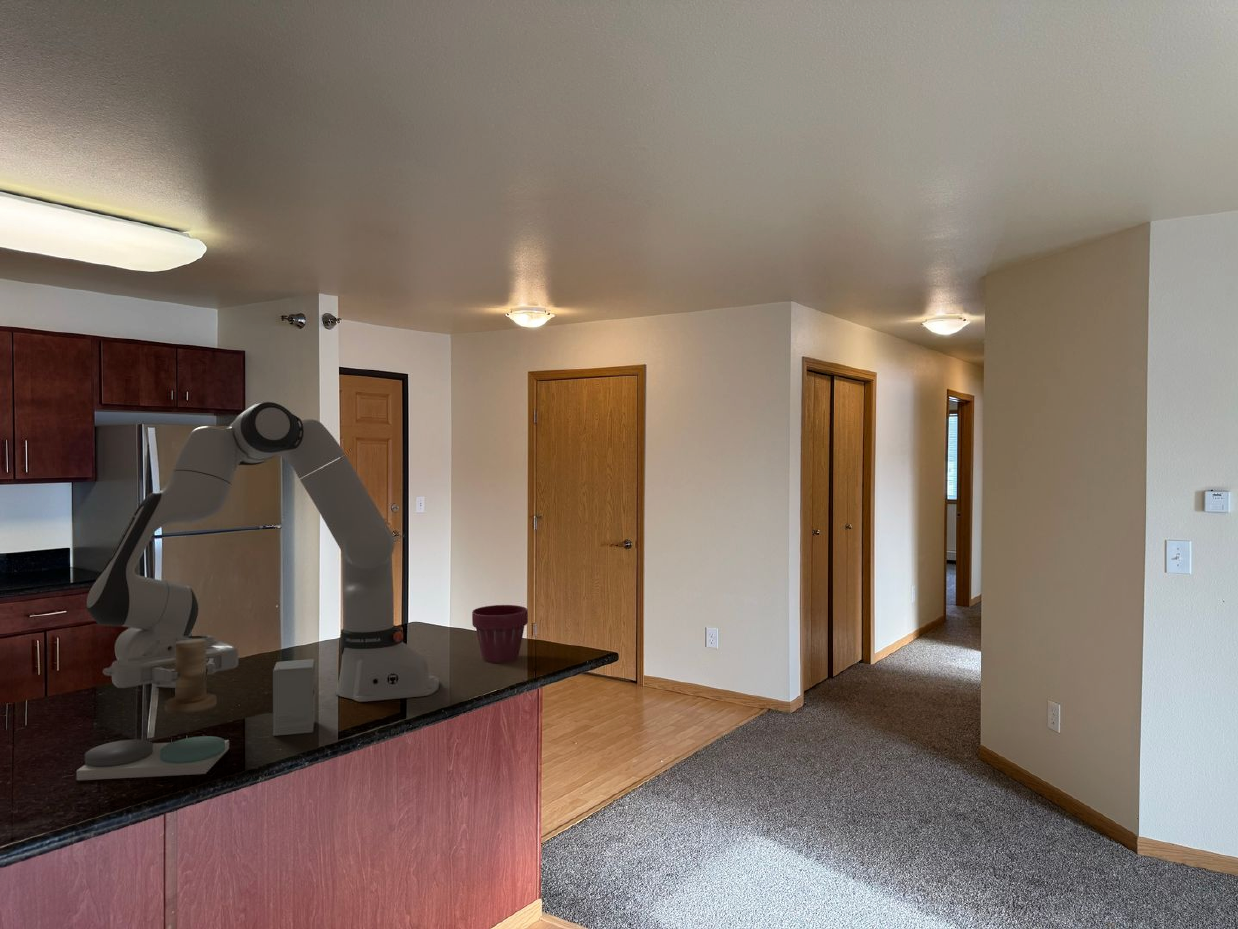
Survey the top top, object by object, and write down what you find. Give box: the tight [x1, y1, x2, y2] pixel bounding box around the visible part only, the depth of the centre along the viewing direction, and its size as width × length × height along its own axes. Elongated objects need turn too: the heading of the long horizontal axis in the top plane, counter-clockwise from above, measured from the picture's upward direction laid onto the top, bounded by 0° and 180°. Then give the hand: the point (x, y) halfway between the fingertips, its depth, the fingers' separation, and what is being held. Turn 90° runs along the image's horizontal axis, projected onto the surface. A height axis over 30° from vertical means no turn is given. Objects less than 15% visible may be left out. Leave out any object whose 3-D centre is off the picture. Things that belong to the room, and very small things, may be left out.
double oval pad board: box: [76, 735, 230, 781], centre depth 145 cm, size 22×12×3 cm, turn 97°
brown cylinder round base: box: [164, 639, 217, 715], centre depth 146 cm, size 8×8×11 cm
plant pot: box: [471, 604, 529, 664], centre depth 218 cm, size 14×14×13 cm
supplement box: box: [272, 658, 316, 737], centre depth 164 cm, size 7×7×13 cm
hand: (192, 672), depth 145 cm, fingers closed on brown cylinder round base, 5 cm apart
